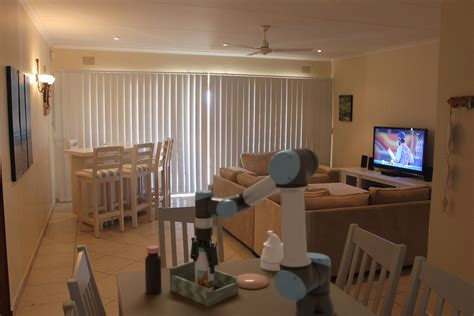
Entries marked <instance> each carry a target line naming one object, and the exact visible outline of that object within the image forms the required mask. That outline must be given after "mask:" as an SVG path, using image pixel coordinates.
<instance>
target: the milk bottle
mask: <svg viewBox="0 0 474 316" xmlns="http://www.w3.org/2000/svg"><path fill="white" fill-rule="evenodd" d="M207 249H208V248H207ZM208 266H209V263H208V259H207V255H206V252H205V251H204V248H202V247H199V257H198V259H197V261H196V265H195V283H196V284H198V285H201V286H204V287H206V288H208V293H210V292H212V291H214V285H213V280H212V281H210V282H209V281H208Z"/></svg>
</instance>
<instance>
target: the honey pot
mask: <svg viewBox="0 0 474 316" xmlns="http://www.w3.org/2000/svg"><path fill="white" fill-rule="evenodd" d="M273 232H274V231H273V230H268V231H267V235H269V237H268V239H267V241H265V242H263V244H262V245H263V246H264V248H263V249H262V254H261V256H260V267H261V269H263V270H266V271H271V272H279V271H280V264H279V261H280V260H281V259H282V258H283V242H282V240H281V239H280V237H279V236H278V235H277V234H275V233H273Z"/></svg>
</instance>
